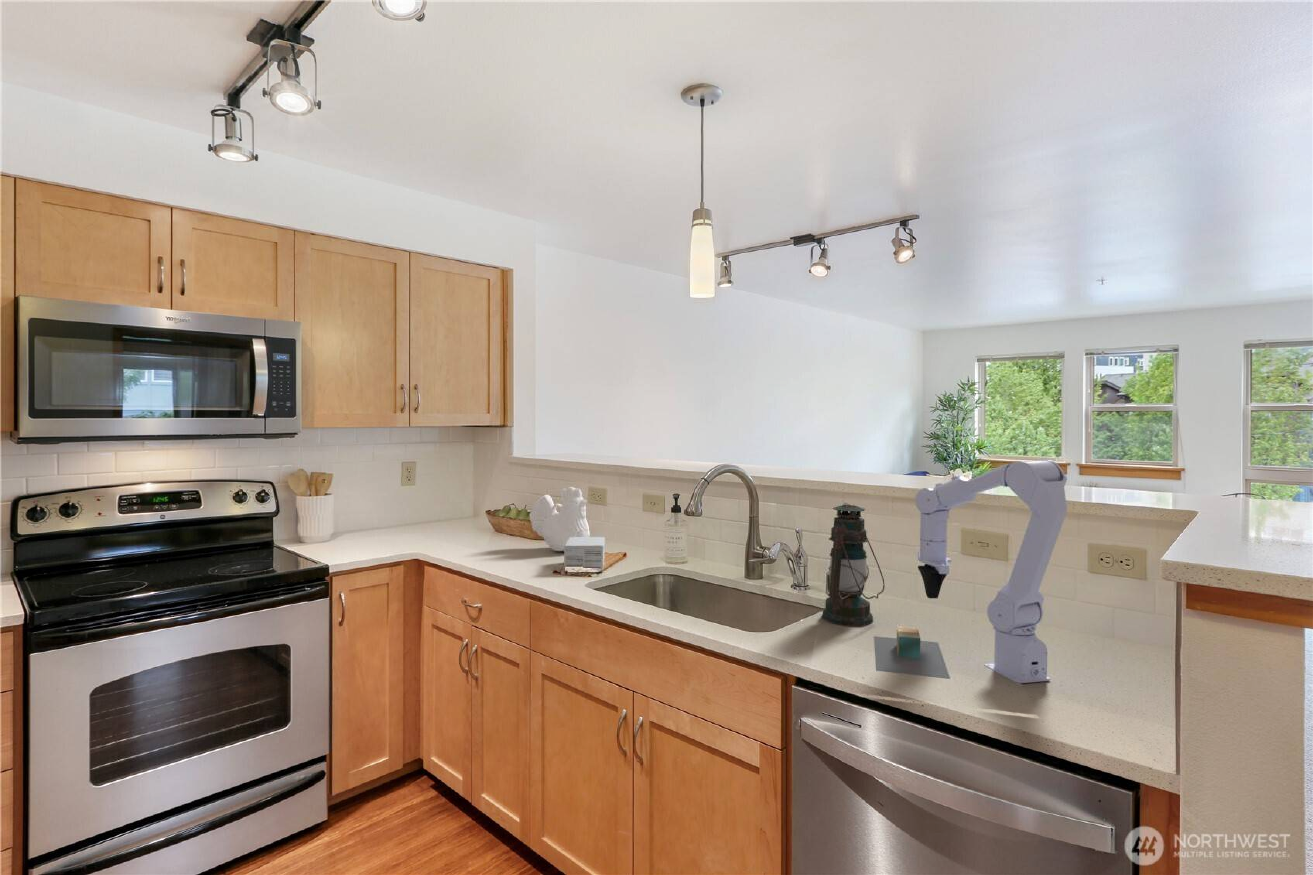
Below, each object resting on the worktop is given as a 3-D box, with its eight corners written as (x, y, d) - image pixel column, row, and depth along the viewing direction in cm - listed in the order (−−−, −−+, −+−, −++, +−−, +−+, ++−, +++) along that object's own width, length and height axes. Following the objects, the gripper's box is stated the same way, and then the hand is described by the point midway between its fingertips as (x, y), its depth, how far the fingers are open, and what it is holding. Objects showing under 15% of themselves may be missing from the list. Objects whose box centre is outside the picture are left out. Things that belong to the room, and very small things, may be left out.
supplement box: (603, 573, 221) (603, 545, 221) (563, 573, 220) (563, 545, 220) (605, 562, 238) (605, 536, 238) (568, 562, 237) (568, 536, 237)
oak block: (920, 638, 143) (917, 627, 150) (898, 636, 144) (896, 625, 151) (920, 658, 143) (917, 647, 150) (898, 656, 144) (896, 644, 151)
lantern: (839, 605, 184) (840, 497, 183) (891, 615, 175) (893, 502, 174) (807, 622, 169) (809, 505, 168) (862, 634, 160) (864, 510, 159)
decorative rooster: (598, 549, 259) (598, 486, 258) (571, 556, 245) (571, 489, 245) (550, 542, 273) (550, 482, 272) (522, 548, 260) (522, 485, 259)
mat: (950, 680, 132) (950, 678, 132) (876, 672, 136) (876, 670, 136) (937, 644, 153) (937, 642, 153) (874, 638, 157) (874, 636, 157)
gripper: (963, 546, 147) (962, 606, 147) (939, 534, 161) (938, 589, 162) (931, 545, 147) (929, 606, 148) (909, 533, 162) (908, 589, 162)
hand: (932, 597), depth 155 cm, fingers closed
